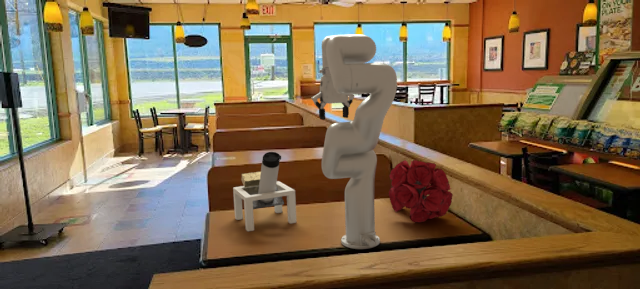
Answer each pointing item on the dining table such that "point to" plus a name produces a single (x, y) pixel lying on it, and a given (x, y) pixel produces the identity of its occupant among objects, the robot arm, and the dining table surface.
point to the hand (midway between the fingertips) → (334, 118)
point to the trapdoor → (254, 180)
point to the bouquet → (420, 190)
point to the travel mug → (269, 174)
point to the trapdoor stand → (248, 199)
